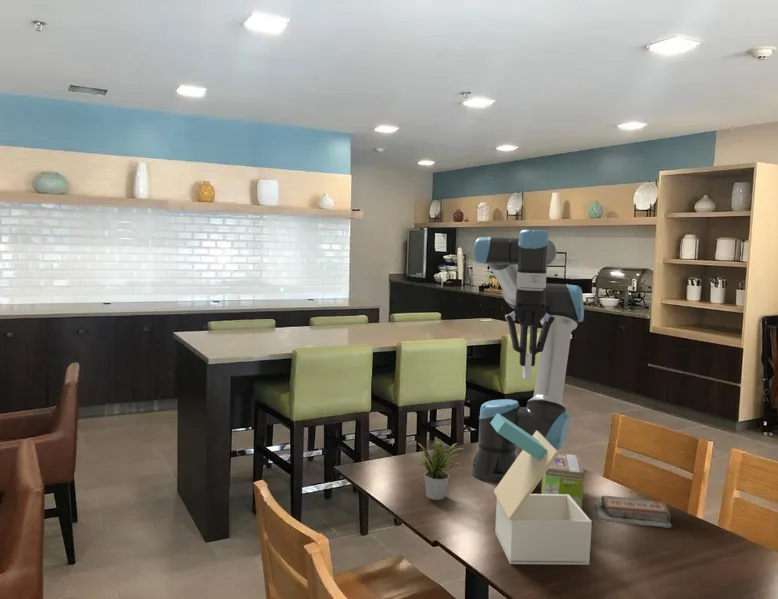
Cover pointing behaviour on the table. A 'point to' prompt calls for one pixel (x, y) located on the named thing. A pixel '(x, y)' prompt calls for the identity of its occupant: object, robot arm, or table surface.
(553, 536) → the carton
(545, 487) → the tea box
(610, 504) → the packaged product
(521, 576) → the table surface
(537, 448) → the teal slab on tray
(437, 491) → the house plant
